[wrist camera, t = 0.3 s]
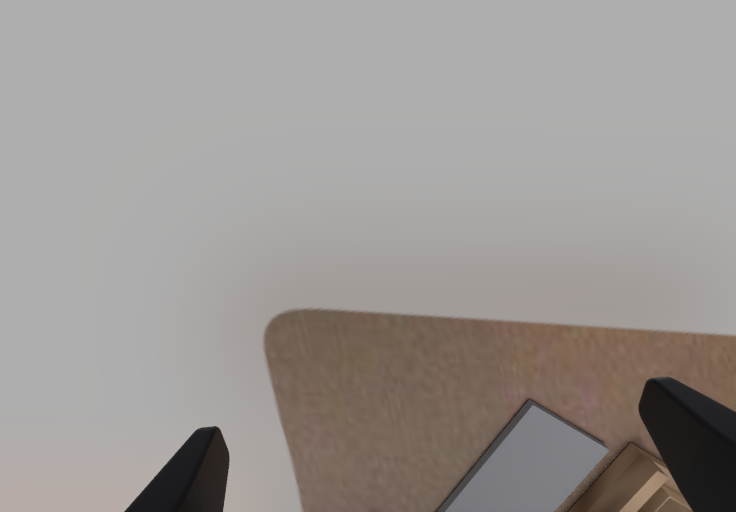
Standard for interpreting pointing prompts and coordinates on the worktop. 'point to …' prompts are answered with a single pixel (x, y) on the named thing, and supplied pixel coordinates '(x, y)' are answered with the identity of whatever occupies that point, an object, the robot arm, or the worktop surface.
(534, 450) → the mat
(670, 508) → the offcut top
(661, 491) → the block
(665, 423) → the robot arm
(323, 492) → the worktop surface
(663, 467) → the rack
